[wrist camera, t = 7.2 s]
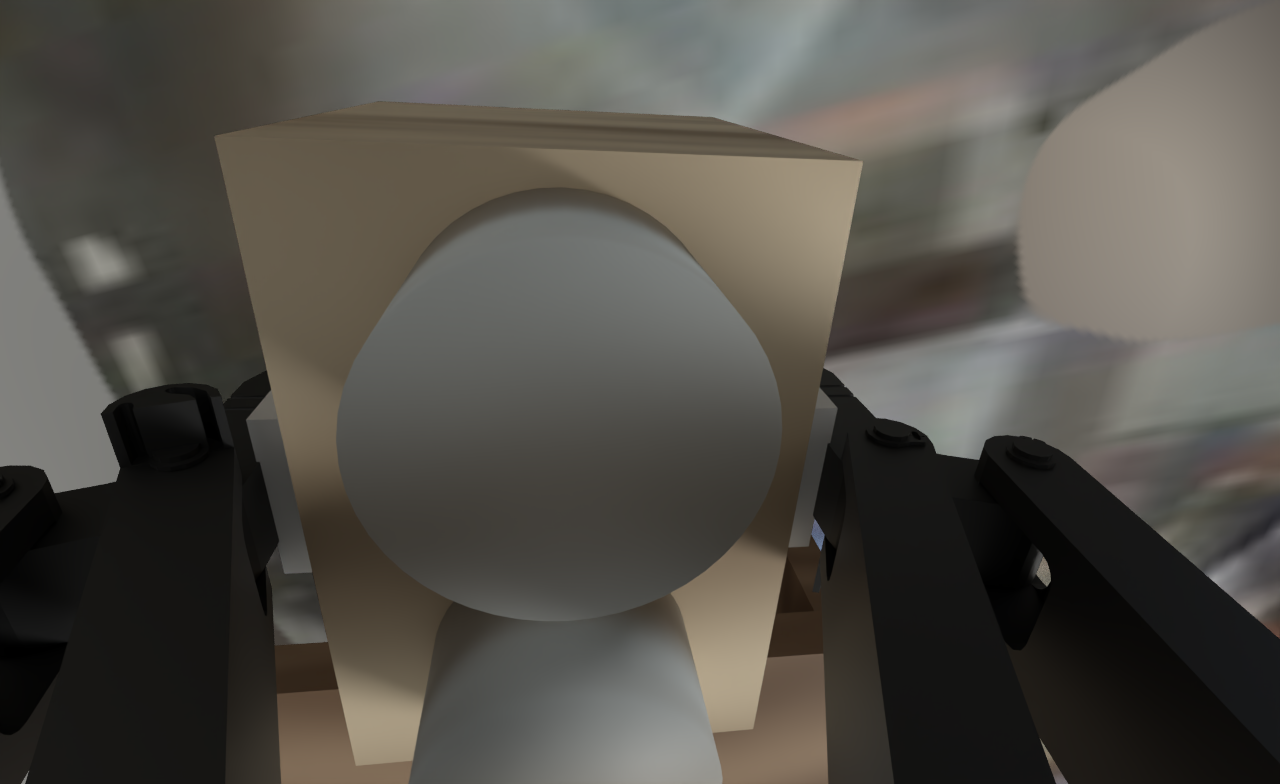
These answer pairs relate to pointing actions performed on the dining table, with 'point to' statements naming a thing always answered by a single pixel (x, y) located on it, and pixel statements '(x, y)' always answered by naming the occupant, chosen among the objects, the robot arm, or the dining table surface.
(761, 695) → the wooden cubby
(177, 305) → the dining table surface
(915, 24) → the dining table surface
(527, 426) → the glass caddy
